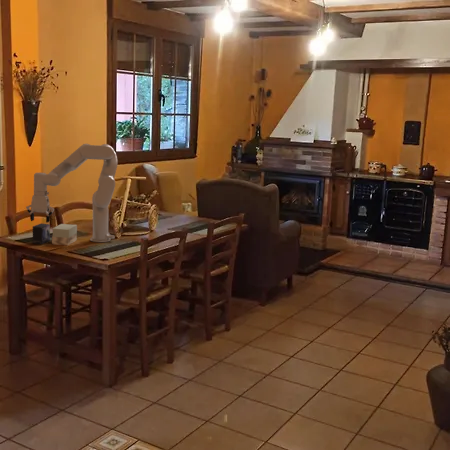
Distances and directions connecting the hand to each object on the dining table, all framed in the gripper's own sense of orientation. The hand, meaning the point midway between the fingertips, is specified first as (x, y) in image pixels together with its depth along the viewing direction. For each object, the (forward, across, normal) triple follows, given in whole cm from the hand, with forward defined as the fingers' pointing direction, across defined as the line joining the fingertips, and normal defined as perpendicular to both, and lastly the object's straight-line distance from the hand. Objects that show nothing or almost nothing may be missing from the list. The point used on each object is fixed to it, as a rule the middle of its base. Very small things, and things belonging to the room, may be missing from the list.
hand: (40, 221), depth 358 cm
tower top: (+8, -14, -4) cm, 17 cm away
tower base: (+13, -14, -4) cm, 19 cm away
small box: (+13, -1, 0) cm, 13 cm away
